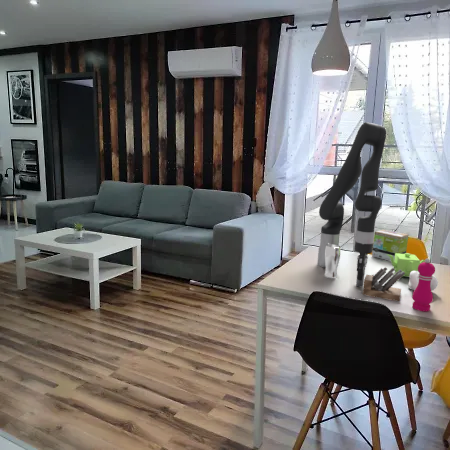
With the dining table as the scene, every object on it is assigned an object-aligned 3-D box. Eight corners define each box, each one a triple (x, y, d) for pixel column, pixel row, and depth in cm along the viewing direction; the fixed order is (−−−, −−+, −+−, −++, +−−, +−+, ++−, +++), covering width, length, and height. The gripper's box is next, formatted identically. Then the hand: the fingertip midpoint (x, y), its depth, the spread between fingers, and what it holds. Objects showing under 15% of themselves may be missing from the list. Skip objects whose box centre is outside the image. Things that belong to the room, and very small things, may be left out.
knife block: (362, 294, 174) (365, 268, 172) (365, 288, 182) (367, 263, 180) (401, 301, 168) (404, 274, 166) (402, 294, 176) (405, 268, 174)
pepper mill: (407, 304, 165) (413, 255, 161) (424, 304, 166) (431, 256, 162) (417, 312, 158) (423, 261, 154) (435, 312, 159) (442, 261, 155)
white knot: (399, 286, 187) (401, 266, 185) (425, 286, 188) (427, 267, 186) (412, 295, 176) (415, 275, 174) (439, 295, 177) (442, 275, 175)
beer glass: (339, 275, 198) (342, 245, 195) (336, 279, 192) (339, 248, 189) (324, 273, 201) (327, 243, 198) (321, 277, 195) (324, 246, 192)
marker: (355, 286, 185) (357, 259, 182) (356, 283, 188) (359, 258, 185) (362, 287, 184) (365, 261, 181) (363, 285, 186) (366, 259, 184)
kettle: (409, 282, 192) (412, 259, 190) (382, 274, 203) (385, 252, 201) (427, 277, 200) (430, 255, 198) (400, 269, 212) (403, 248, 210)
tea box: (371, 256, 234) (374, 231, 231) (380, 254, 241) (382, 229, 238) (397, 263, 223) (400, 236, 220) (405, 260, 230) (409, 233, 227)
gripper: (357, 236, 190) (354, 272, 193) (352, 243, 177) (349, 280, 180) (375, 238, 186) (371, 274, 190) (371, 245, 174) (367, 283, 177)
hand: (360, 277), depth 185 cm, fingers open, 6 cm apart
